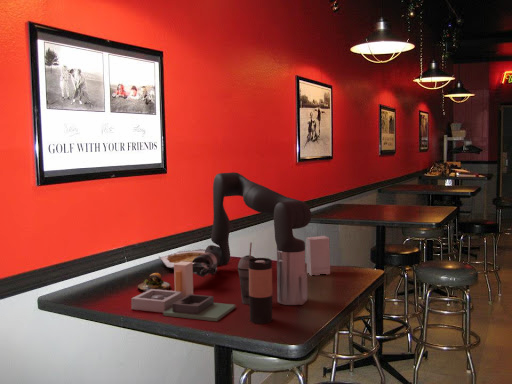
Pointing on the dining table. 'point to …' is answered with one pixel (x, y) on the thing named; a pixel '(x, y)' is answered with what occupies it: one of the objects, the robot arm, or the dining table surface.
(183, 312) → the header board
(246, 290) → the beverage cup
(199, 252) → the oval serving dish
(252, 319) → the travel mug
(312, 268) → the skincare box
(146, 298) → the fan
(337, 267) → the dining table surface
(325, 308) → the dining table surface
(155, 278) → the burger
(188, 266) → the plug
